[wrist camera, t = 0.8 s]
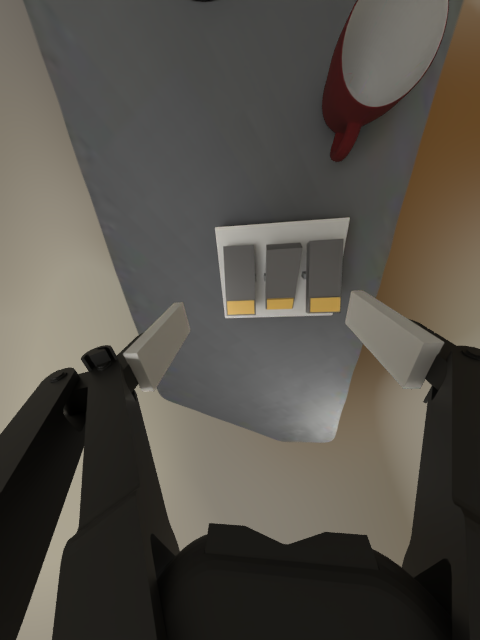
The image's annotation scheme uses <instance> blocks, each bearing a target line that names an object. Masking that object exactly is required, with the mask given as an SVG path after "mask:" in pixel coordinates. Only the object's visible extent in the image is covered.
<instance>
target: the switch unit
mask: <svg viewBox="0 0 480 640" xmlns="http://www.w3.org/2000/svg"><path fill="white" fill-rule="evenodd" d="M349 220H350V217H348V218H334V219H321V220H308V221H294V222H281V223H268V224H254V225H241V226H228V227H215V232H216V241H217V250H218V258H219V267H220V276H221V285H222V293H223V302H224V311H225V318H247V317H284V316H321V315H332V314H333V313H306V253H307V243H308V242H309V241H314V240H330V239H344V242H343V253H344V248H345V242H346V237H347V231H348V226H349ZM299 242H300V243H301V245H302V247H303V250H302V256H301V262H300V268H299V274H298V281H297V287H296V293H295V299H294V305H293V308H292V309H270V310H267V309H266V307H265V283H266V245H268V244H284V243H299ZM253 244H254V259H255V297H256V315H238V316H227V311H226V292H225V273H224V253H223V246H237V245H253Z"/></svg>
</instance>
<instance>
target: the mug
mask: <svg viewBox="0 0 480 640" xmlns="http://www.w3.org/2000/svg"><path fill="white" fill-rule="evenodd" d="M448 10H449V0H357V1H356V3H355V5H354V7H353V9H352V11H351V13H350V15H349V17H348V19H347V21H346V23H345V26H344V28H343V30H342V32H341V35H340V37H339V40H338V42H337V45H336V47H335V50H334V54H333V57H332V60H331V64H330V68H329V72H328V76H327V80H326V84H325V88H324V93H323V99H322V111H323V117H324V120H325V122H326V124H327V126H328V127H329V128H330V129H331V130H332V131H334V132H335V133H336V134H335V137H334V141H333V144H332V147H331V152H330V157H331V160H333V161H335V162H339V161H342V160H343V159H344V158H345V157H346V156H347V155H348V154H349V152H350V151H351V149H352V147H353V145H354V143H355V141H356V139H357V137H358V134H359V131H360V129H361V127H362V126H364V125H366V124H368V123H369V122H371V121H373V120H375V119H377V118H379V117H380V116H382V115H383V114H385V113H386V112H387V111H388V110H390V109H391V108H392V107H393V106H394V105H396V104H397V103H398V102H399V101H400V100H401V99H402V98H403V97H404V96H405V95H407V94H408V93H409V92H410V91H411V90H412V89H413V88H414V87H415V86H416V84H417V83H418V82H419V81H420V80H421V78H422V77H423V76H424V74H425V73H426V71H427V70H428V68H429V67H430V65H431V63H432V61H433V59H434V57H435V55H436V53H437V51H438V49H439V46H440V44H441V41H442V38H443V35H444V32H445V28H446V23H447V18H448Z"/></svg>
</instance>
